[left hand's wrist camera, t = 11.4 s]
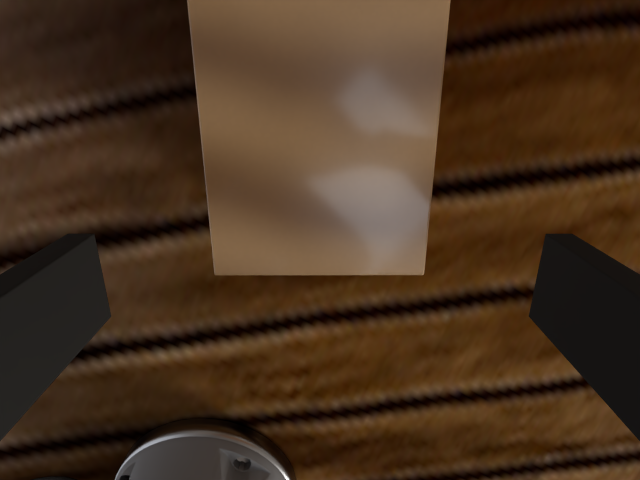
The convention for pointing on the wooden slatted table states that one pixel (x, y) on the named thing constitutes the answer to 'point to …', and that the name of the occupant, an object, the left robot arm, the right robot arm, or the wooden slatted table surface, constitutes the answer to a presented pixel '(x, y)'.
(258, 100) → the cabinet
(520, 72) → the wooden slatted table surface
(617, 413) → the left robot arm
